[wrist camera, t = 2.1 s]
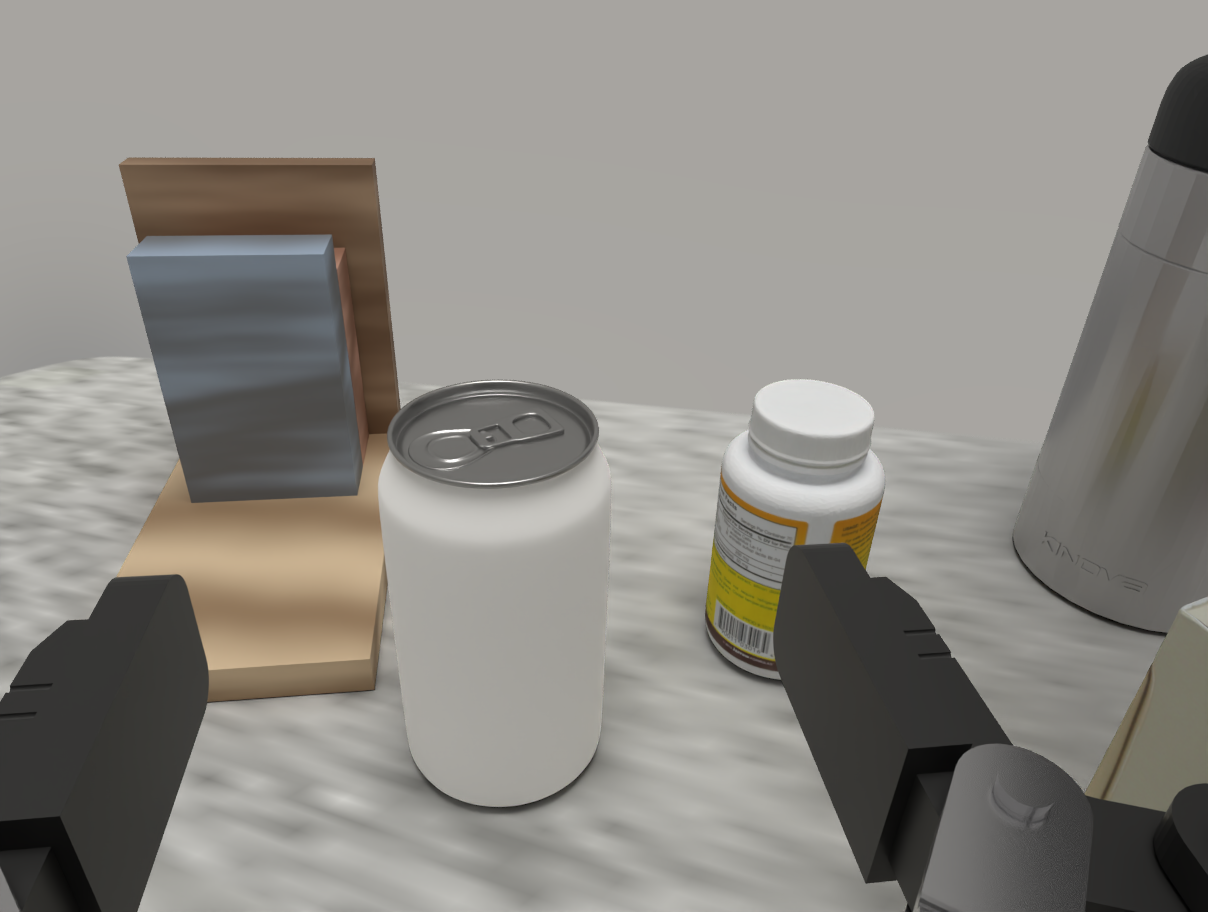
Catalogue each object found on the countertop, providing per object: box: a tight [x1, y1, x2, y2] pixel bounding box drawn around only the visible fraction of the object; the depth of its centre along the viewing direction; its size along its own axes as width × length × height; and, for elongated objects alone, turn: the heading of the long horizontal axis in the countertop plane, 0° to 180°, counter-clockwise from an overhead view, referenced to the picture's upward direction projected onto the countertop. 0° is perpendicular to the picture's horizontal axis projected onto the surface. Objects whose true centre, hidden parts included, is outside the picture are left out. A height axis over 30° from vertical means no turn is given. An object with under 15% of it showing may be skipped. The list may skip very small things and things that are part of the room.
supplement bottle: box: [705, 379, 885, 680], centre depth 31 cm, size 6×6×10 cm
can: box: [378, 380, 612, 807], centre depth 26 cm, size 6×6×12 cm
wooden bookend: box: [117, 158, 400, 702], centre depth 34 cm, size 17×10×14 cm, turn 7°
